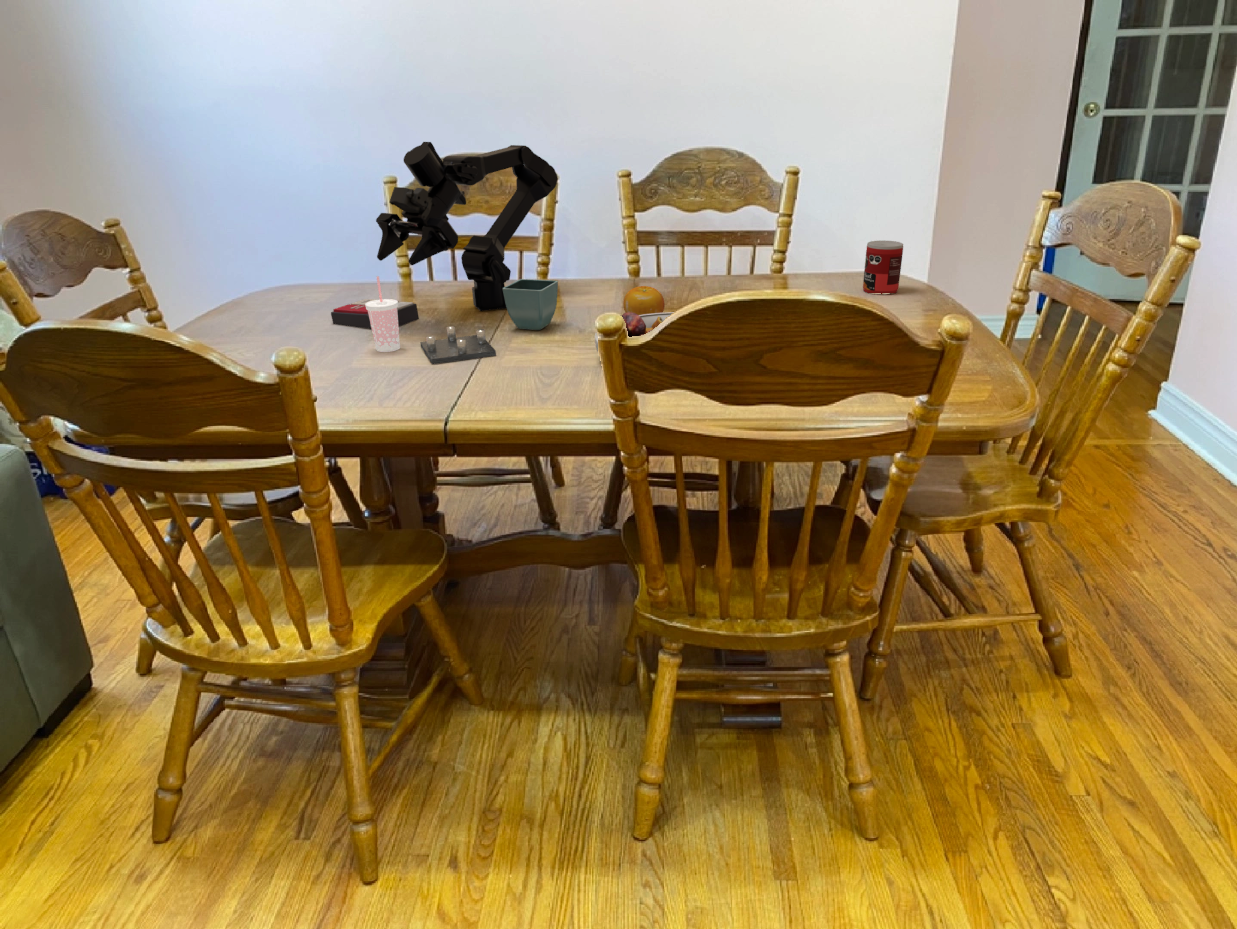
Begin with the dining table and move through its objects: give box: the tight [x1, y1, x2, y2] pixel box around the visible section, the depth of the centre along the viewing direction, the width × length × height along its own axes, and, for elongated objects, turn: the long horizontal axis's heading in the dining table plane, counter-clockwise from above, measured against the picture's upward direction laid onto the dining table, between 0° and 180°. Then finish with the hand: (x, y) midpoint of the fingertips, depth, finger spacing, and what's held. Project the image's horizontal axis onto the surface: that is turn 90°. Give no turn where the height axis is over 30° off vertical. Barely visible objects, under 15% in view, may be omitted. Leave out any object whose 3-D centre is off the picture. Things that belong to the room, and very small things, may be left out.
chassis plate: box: [419, 325, 497, 365], centre depth 161 cm, size 12×12×4 cm
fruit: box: [622, 285, 666, 315], centre depth 178 cm, size 8×8×8 cm
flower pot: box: [503, 278, 559, 331], centre depth 174 cm, size 9×9×9 cm
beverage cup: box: [365, 275, 401, 353], centre depth 161 cm, size 6×6×14 cm
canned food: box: [862, 240, 904, 294], centre depth 194 cm, size 8×8×11 cm
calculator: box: [330, 298, 420, 331], centre depth 182 cm, size 11×4×15 cm
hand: (394, 261), depth 166 cm, fingers open, 9 cm apart
